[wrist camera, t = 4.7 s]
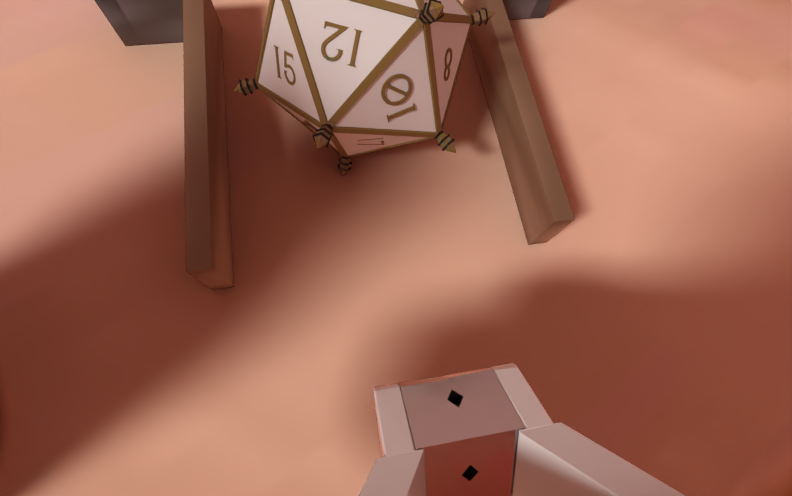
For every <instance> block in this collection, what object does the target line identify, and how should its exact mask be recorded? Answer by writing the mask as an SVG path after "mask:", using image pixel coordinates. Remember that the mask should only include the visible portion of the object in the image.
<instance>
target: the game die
mask: <svg viewBox="0 0 792 496" xmlns="http://www.w3.org/2000/svg"><path fill="white" fill-rule="evenodd" d="M495 13H496V12H492V11H489V10H487V9H486V8H482V10H476V12H475V13H473V14H472V15H470V14H469V12H468V11H467V10H466V9H465V7H464V6H463V5H462V3H461V2H460V1H459V0H270V3H269V8H268V13H267V18H266V23H265V29H264V34H263V39H262V44H261V50H260V55H259V60H258V65H257V70H256V76H255V79H253V80H248V79H247V78H245V80H243V81H241V80H239V83H238V85H237V86H236V87H235V89H234V90H233V91H234V92H238V93H241V94H244V95H245V96H246V95H247V94H248V93H251V94H252V93H253V91H254V90H256V89H260V90H261V91H262V92H263V93H264V94H266V95H267V96H268V97H269V98H271V99H272V100H273V101H274V102H276V103H277V104H278V105H279V106H281V107H282V108H283V109H284V110H286V111H287V112H288V113H289V114H291V115H292V116H293V117H294V118H296V119H297V120H298V121H299V122H301V123H302V124H303V125H304V126H306V127H307V128H308V129H309V130H311V131H312V132H313V133H314V134H313V135H312V136H313V138H314V140H315V143H316V146H317V149H319V148H322V147H327V146H328V145H329V146H330V147H332V148H333V149H334V150H335V151H337V152H338V153H339V154H340V155H342V158H341V159H339V162H340V164H338V169H340V171H341V173H342V175H344V174H345V173H346V172H347V171H348V170H350V169H351V167H350V164H352V162H350V157H352V156H357V155H361V154H365V153H370V152H374V151H379V150H383V149H387V148H392V147H396V146H401V145H405V144H409V143H414V142H418V141H423V140H427V139H431V138H436V139H437V141H438V143H439V144H438V145H439V146H441V147H442V148H443V149H442V150H443V151H444V150H446V151H450V152H454V153H456V150H455V146H454V139H451V138H450V137H449V136H450V135H449V134H448V135H447V134H445V133H443V131H442V129H443V125H444V122H445V118H446V115H447V111H448V108H449V104H450V101H451V97H452V94H453V90H454V86H455V83H456V79H457V76H458V72H459V69H460V65H461V62H462V58H463V55H464V51H465V48H466V44H467V40H468V37H469V33H470V30H471V26H472V25H478V26H480V25H481V24H484V23H485V25H487V22H488V21H489V19H490V18H491V17H492V16H493V15H494V14H495Z"/></svg>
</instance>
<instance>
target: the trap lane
mask: <svg viewBox="0 0 792 496" xmlns="http://www.w3.org/2000/svg"><path fill="white" fill-rule="evenodd" d="M551 1H552V0H464V2H463V6H464V7H465V9H466V10H467V11H468V12H469V14H470V15H472V14H473V13H475V12H476V10H482V8H486V9H487V10H489V11H492V12H496V13H495V14H494V15H493V16H492V17H491V18H490V19H489V21H488V22H487V25H485V23H484V24H481V25H480V26H478V25H472V26H471V30H470V33H469V39H470V43H471V46H472V50H473V53H474V57H475V60H476V64H477V67H478V71H479V74H480V78H481V81H482V85H483V88H484V92H485V95H486V99H487V102H488V106H489V109H490V113H491V116H492V120H493V123H494V126H495V130H496V133H497V137H498V140H499V144H500V147H501V151H502V154H503V158H504V161H505V165H506V168H507V172H508V175H509V179H510V182H511V186H512V189H513V193H514V196H515V200H516V203H517V207H518V210H519V214H520V217H521V221H522V224H523V228H524V231H525V235H526V238H527V242H528V245H531V244H538V243H545V242H547V241H549V240H550V239H551V238H552V237H553V236H555V235H556V234H557V233H558V232H560V231H561V230H562V229H563V228H564V227H566V226H567V225H568V224H569V223H570V222H572V221H573V220H574V219H575V218H574V215H573V212H572V209H571V206H570V203H569V200H568V197H567V194H566V191H565V188H564V185H563V182H562V179H561V176H560V173H559V170H558V167H557V164H556V161H555V158H554V155H553V152H552V149H551V146H550V143H549V140H548V137H547V134H546V131H545V128H544V125H543V122H542V119H541V116H540V113H539V110H538V107H537V104H536V101H535V98H534V95H533V92H532V88H531V85H530V82H529V79H528V76H527V73H526V70H525V67H524V64H523V61H522V58H521V55H520V52H519V49H518V46H517V43H516V40H515V37H514V34H513V31H512V28H511V25H510V22H509V20H511V19H525V18H540V17H544V15H545V13H546V11H547V9H548V7H549V5H550V3H551ZM95 2H96V3H97V5H98V6H99V7H100V9H101V10H102V12H103V13H104V15H105V16H106V18H107V19H108V21H109V22H110V24H111V25H112V27H113V28H114V30H115V31H116V33H117V34H118V35H119V37H120V38H121V40H122V41H123V43H124V44H125V46H127V45H142V44H156V43H171V42H183V43H184V132H185V221H186V272H188V273H189V274H190V275H192V276H193V277H195V278H196V279H198V280H199V281H200V282H202V283H203V284H205V285H206V286H208V287H209V288H211V289H212V290H213V289H220V288H227V287H234V281H233V261H232V240H231V219H230V198H229V178H228V157H227V136H226V115H225V95H224V74H223V53H222V33H221V24H220V22H219V19H218V16H217V14H216V11H215V9H214V6H213V3H212V1H211V0H95Z"/></svg>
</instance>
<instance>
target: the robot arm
mask: <svg viewBox="0 0 792 496" xmlns="http://www.w3.org/2000/svg"><path fill="white" fill-rule="evenodd" d="M374 399H375V408H376V416H377V425H378V434H379V442H380V450H381V457H380V458H377V459H376V461H375V463H374V465H373V467H372V470H371V472H370V474H369V476H368V478H367V480H366V482H365V484H364V486H363V488H362V490H361V492H360V494H359V496H685V495H683V494H682V493H680V492H678V491H677V490H675V489H673V488H672V487H670V486H668V485H667V484H665V483H663V482H661V481H660V480H658V479H656V478H655V477H653V476H651V475H650V474H648V473H646V472H645V471H643V470H641V469H639V468H638V467H636V466H634V465H633V464H631V463H629V462H628V461H626V460H624V459H623V458H621V457H619V456H617V455H616V454H614V453H612V452H611V451H609V450H607V449H606V448H604V447H602V446H601V445H599V444H597V443H596V442H594V441H592V440H590V439H589V438H587V437H585V436H584V435H582V434H580V433H579V432H577V431H575V430H574V429H572V428H570V427H568V426H567V425H565V424H563V423H562V422H560V423H553V421H552V420H551V418H550V416H549V415H548V413H547V412H546V410H545V409H544V407H543V406H542V404H541V402H540V401H539V399H538V398H537V396H536V395H535V393H534V392H533V390H532V388H531V387H530V385H529V384H528V382H527V381H526V379H525V377H524V376H523V374H522V373H521V371H520V370H519V368H518V367H517V365H515V364H514V363H509V364H504V365H498V366H493V367H490V368H482V369H477V370H472V371H466V372H461V373H455V374H450V375H444V376H440V377H433V378H426V379H420V380H413V381H406V382H399V383H398V384H390V385H383V386H376V387H374Z"/></svg>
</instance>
